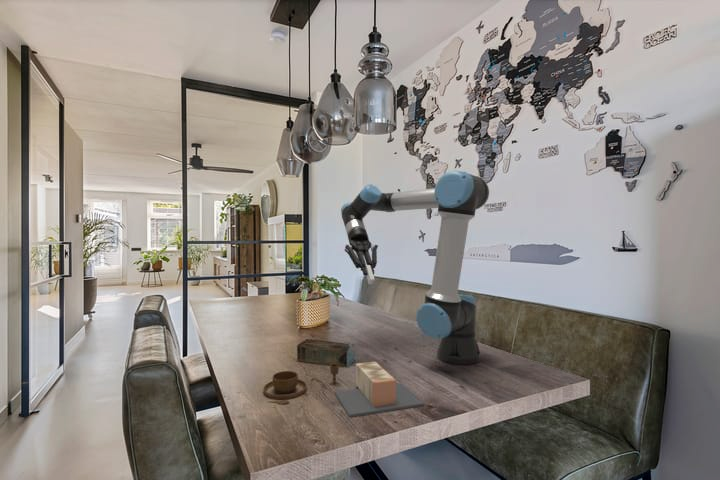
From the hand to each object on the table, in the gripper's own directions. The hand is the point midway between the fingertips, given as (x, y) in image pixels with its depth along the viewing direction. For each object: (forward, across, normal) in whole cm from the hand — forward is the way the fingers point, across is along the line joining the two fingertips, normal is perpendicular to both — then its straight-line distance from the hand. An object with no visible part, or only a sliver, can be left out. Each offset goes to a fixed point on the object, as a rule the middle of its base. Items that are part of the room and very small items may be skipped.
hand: (371, 281), depth 125 cm
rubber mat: (+39, +8, -1) cm, 40 cm away
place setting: (+31, +27, -10) cm, 42 cm away
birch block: (+29, +8, -5) cm, 31 cm away
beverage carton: (+15, +14, -25) cm, 33 cm away
